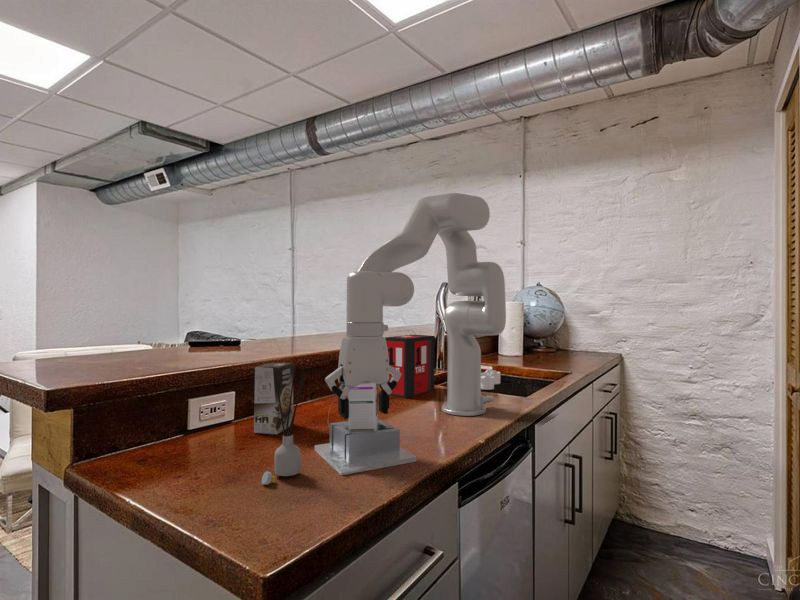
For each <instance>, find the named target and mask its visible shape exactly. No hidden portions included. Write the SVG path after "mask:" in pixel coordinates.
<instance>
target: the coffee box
mask: <svg viewBox="0 0 800 600" xmlns="http://www.w3.org/2000/svg"><path fill="white" fill-rule="evenodd" d="M275 371H276V373H277V380H278V387H279V394H280V402H281V409H282V416H283V423H284V430H285V431H286V426H287V419H288V411H289V403H290V396H291V388H292V380H293V373H294V362H270V363H266V364H261V365H257V366H255V367H254V398H253V399H254V401H253V403H254V404H253V405H254V407H253V408H254V409H253V410H254V411H253V413H254V414H253V415H254V416H253V433H254V434H265V435H274V434H275V435H279V434H280V433H282V432H283V427H282V420H281V412H280V405H279V398H278V391H277V384H276V377H275ZM293 413H294V391H293V392H292V399H291V407H290V415H289V422H288V428H290V424H291V420H292V417H293Z"/></svg>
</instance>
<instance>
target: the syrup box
mask: <svg viewBox="0 0 800 600" xmlns="http://www.w3.org/2000/svg"><path fill="white" fill-rule="evenodd" d="M347 399H348V400H349V418H348V419H347V421H348V431H349V432H351V433H352V434H358V433H365V432H372V431H378V418H379V417H378V415H379V414H378V411H379V404H378V385H376V383H375V382H366V383H359V385H357V386H355V387H350V392H349V393H348V395H347Z"/></svg>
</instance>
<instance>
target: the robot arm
mask: <svg viewBox="0 0 800 600" xmlns="http://www.w3.org/2000/svg"><path fill="white" fill-rule="evenodd" d="M490 215H491V213H490V208H489V205H488V203H487V201H486V200H485V199H484V198H482V197H480V196H477V195H472V194H471V195H470V194H465V193H458V192H450V193H443V194H436V195H430V196H425V197H422V198H420V199H419V200H417V201H416V202H415V204H414V205H413V207H412V208H411V210H410V211H409V213H408V215H407V216H406V219H405V220H404V222H403V224H402V225H401V227H400V229H399V230H398V232H397V234H396V235H395V236H393V237H392V238H390V239H388V240H387V241H386V242H384V243H383V244H382V245H380V247H378V248H376V249H375V250H374V251H373V252H372V253H370V254H369V255H368V256H367V257H366V258H365V260H364V261H363V263H362V264H361V266H360V267H359V269H358V271H357V270H356V271H352V272H350V273H348V275H347V277H346V337H342V339H341V342H340V349H339V355H338V365H337V366H338V367H337V368H336V369H335V370H334V371H332V372H330V374H327V376H325V378H324V382H325V383H326V385H327V387H328V388H329V389H330V391H331V392H332V393H333V394H334V395H335V396H336V397H337V400H338V401H337V405H338V406H337V409H338V410H337V412H338V414H339V415H340V417H341V418H342V419H344V420H348V418H349V400H348V393H349V392H350V387H355V386H357V385H359V383H366V382H375V383H376V385H377V388H378V389H380V392H379V393H378V411H379V412H380V413H382V414H385V415H388V413H389V409H390V396H389V395H390V394H391V393H392V390H393V389H394V388H395V386H396V385H397V382H398V380H399V379H400V377H401V373H400V372H399V371H397V370H396V369H394V368H393V367H391V366H390V365H389V357H388V349H387V343H386V339H385V337H386V336H385V337H384V333H385V332H388V331H389V326H388V324H384V307H402V306H405V305H407V304H408V303H409V302H410V301H411V300H412V299H413V296H414V293H415V286H414V282H413V280H412V279H411V277H409V275H407V274H405V273H402V272H398V271H397V272H395V270H398V269H400V268H403V267H405V266H408V265H410V264H413V263H414V262H417V261H419V260H421V259H423V258H424V257H425V256H426V255H428V253H429V251H430V249H431V247H432V245H433V243H434V242H435V241H434V240H435V239H436V237H437V235H438V236H439V237H440V239H441V240H442V242H443V245H444V248H445V252H446V253H445V254H446V271H447V274H446V275H447V286H448V291H449V292H450V293H451V294H452V295H454V296H456V297H457V296H458V297H482V298H483V300H457V301H453V302H451V303H449V304H448V305H447V306H446V307H445V309H444V310H445V311H444V313H443V318H444V320H443V321H444V324H445V333H446V341H447V344H446V346H447V360H446V361H447V369H446V370H447V374H446V375H447V378H446V379H447V382H446V383H447V385H446V388H447V389H446V392H447V395H446V397H447V398H446V403H444V404H442V405H441V411H442V412H443V413H445V414H448V415H453V416H460V417H461V416H463V417H465V416H466V417H472V416H473V417H474V416H475V417H476V416H481V415H483V414H486V413H487V407H486V406H485V404H486V403H488V404H489V403H494V402H495V398H494V396H493V395H484V394H482V393H481V392H482V389H481V373H482V369H481V365H482V360H481V359H482V350H481V347H480V344H479V342H478V340H477V339H476V337H475V336H476V335H477V336H498V335H501V334H502V333H503V332H504V330H505V328H506V321H507V319H506V318H507V308H506V305H507V304H506V282H505V276H504V275H505V274H504V271H503V269H502V267H501V266H500V265H499V264H498V263H496V262H493V261H478V257H477V256H478V255H477V254H478V253H477V245H476V242H475V240H474V238H473V237H472V235H471V234H470V233H469V231H478V230H482V229H484V228H485V227H486V226H487V225H488V223H489V221H490V217H491V216H490ZM389 373H390V374H392V378H391V380H389ZM336 380H337V381H338V383H339V384H340V386H338V385H337V384H336V382H335V381H336ZM388 381H389V382H388ZM387 382H388V383H387Z"/></svg>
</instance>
